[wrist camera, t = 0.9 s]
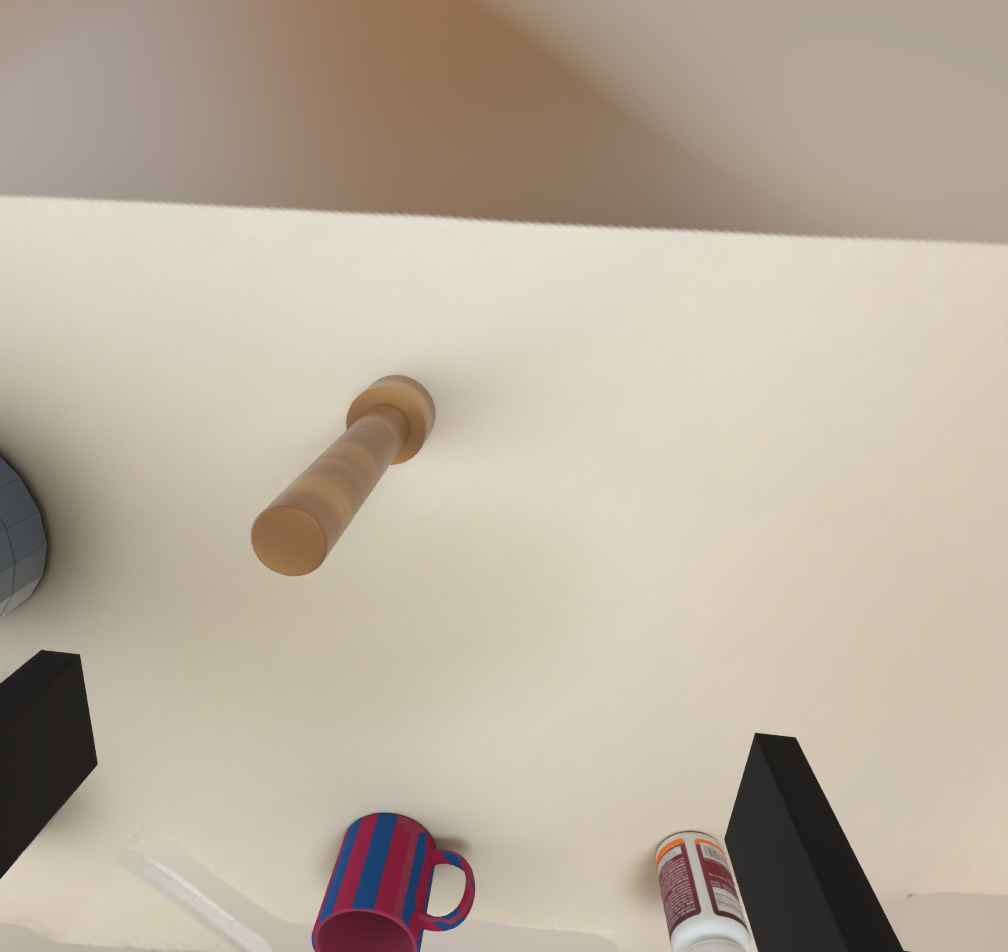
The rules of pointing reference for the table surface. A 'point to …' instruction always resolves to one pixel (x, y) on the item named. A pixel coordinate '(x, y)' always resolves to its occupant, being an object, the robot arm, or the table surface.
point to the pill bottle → (700, 896)
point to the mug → (385, 889)
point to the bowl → (18, 541)
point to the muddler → (343, 476)
